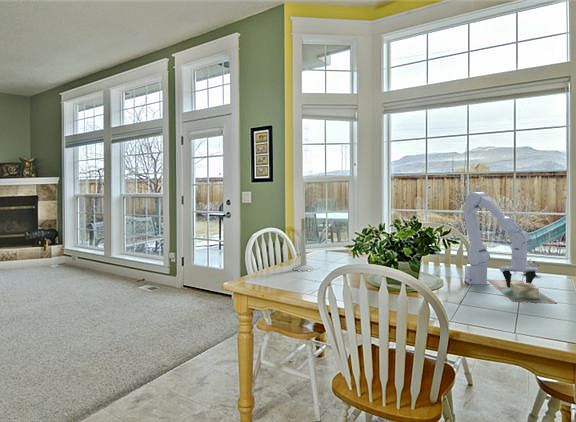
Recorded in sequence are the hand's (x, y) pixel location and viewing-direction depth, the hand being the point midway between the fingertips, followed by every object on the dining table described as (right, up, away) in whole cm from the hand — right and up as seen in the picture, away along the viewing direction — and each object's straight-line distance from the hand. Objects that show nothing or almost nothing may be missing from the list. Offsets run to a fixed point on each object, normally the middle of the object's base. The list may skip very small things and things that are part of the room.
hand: (518, 287), depth 162 cm
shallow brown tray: (0, -1, +1) cm, 2 cm away
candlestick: (-94, 0, +49) cm, 106 cm away
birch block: (-1, -2, -6) cm, 6 cm away
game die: (+23, +1, +27) cm, 36 cm away
